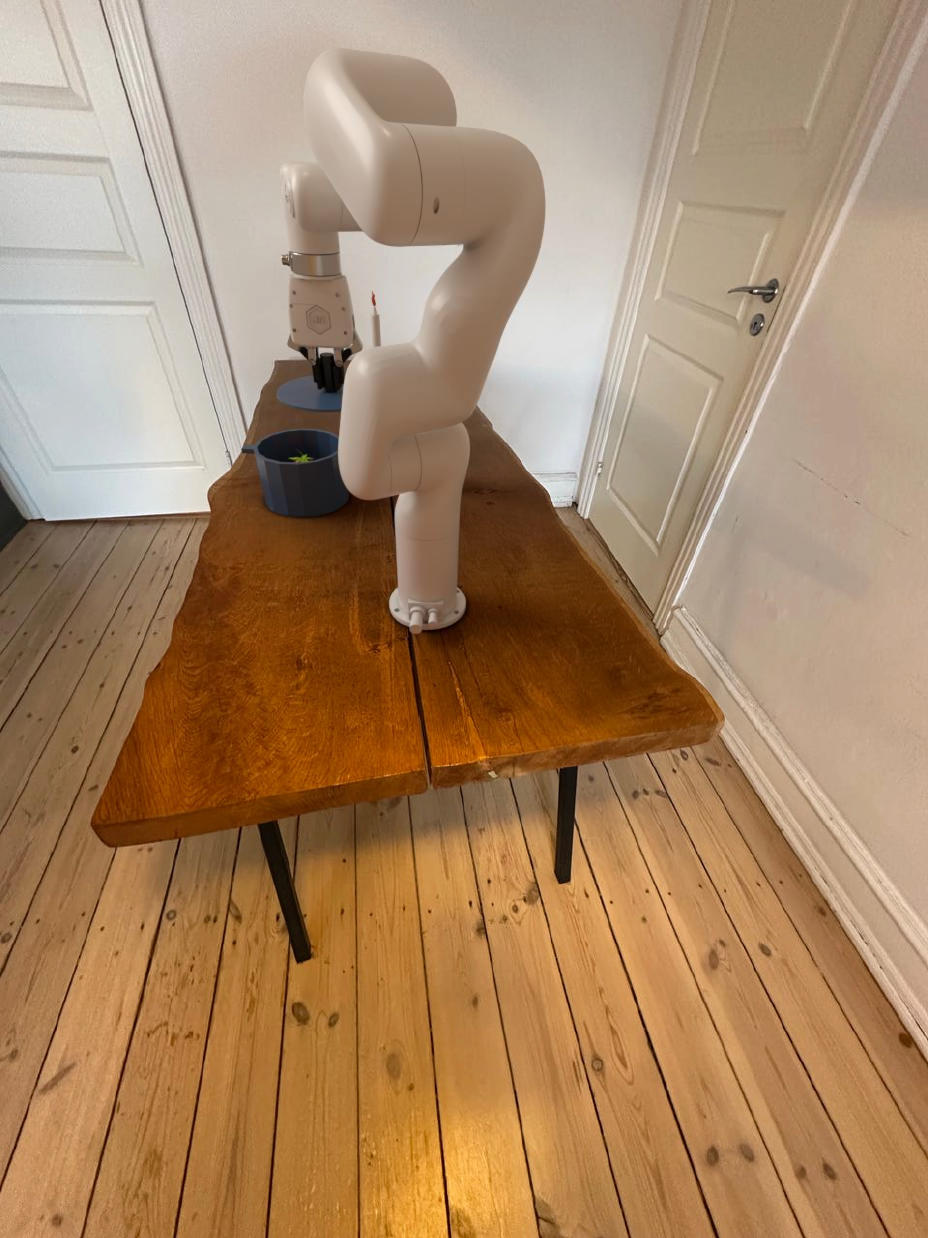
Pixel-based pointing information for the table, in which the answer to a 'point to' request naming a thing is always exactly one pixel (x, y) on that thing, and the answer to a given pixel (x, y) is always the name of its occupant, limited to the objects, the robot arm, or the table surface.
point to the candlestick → (375, 325)
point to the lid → (313, 390)
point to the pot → (300, 472)
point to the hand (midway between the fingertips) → (330, 386)
